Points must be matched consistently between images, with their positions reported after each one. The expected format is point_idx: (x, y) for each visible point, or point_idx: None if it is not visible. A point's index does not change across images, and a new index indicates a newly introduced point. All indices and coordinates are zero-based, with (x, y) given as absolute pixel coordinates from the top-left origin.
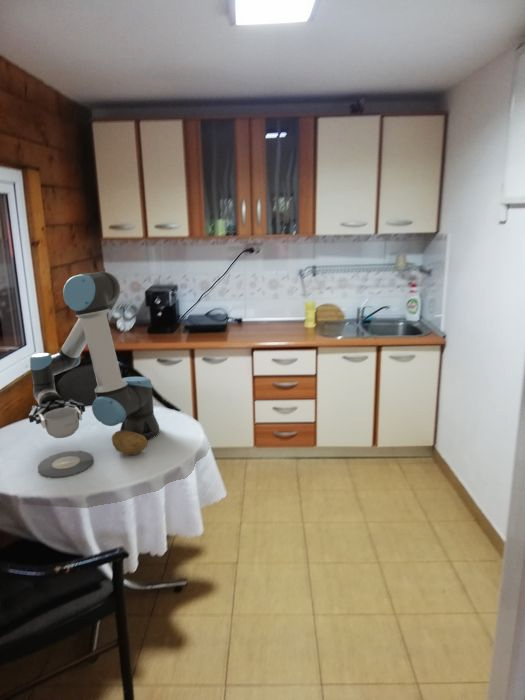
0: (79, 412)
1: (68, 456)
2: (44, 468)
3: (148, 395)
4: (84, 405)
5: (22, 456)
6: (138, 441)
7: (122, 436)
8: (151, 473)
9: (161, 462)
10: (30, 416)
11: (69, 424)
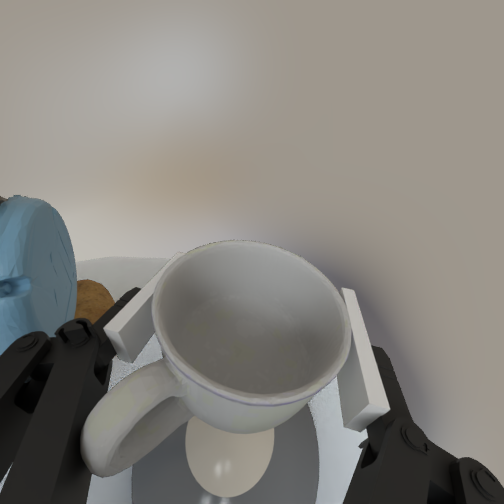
0: (181, 255)
1: (198, 482)
2: (299, 444)
3: None
4: (31, 335)
5: None
6: (96, 282)
7: (86, 311)
8: (161, 264)
9: (117, 275)
10: (470, 461)
11: (246, 267)
